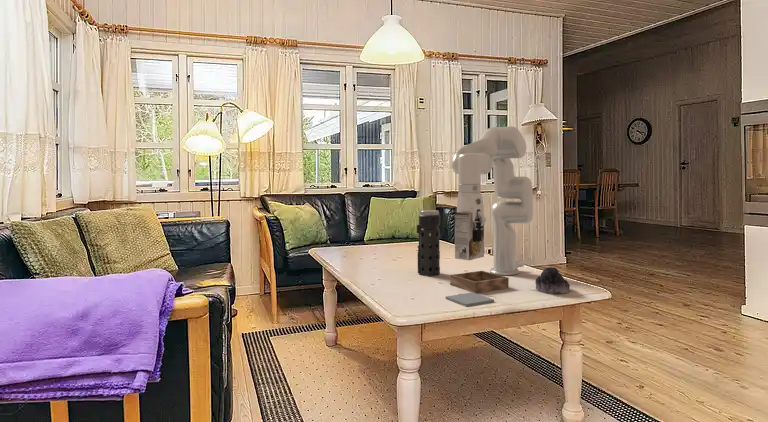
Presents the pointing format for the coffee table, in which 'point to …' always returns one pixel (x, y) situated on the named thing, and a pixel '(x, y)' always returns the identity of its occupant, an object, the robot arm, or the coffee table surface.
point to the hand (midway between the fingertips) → (469, 239)
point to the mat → (469, 299)
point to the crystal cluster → (551, 282)
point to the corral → (479, 281)
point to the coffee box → (467, 238)
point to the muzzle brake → (429, 243)
